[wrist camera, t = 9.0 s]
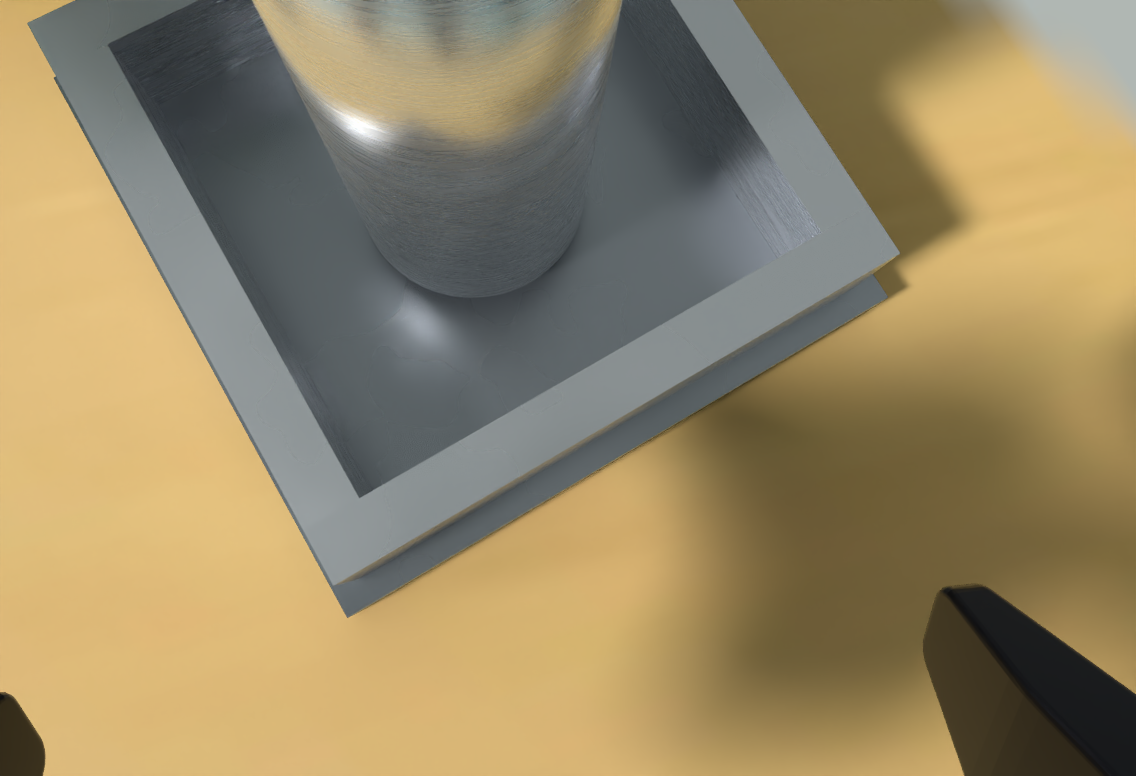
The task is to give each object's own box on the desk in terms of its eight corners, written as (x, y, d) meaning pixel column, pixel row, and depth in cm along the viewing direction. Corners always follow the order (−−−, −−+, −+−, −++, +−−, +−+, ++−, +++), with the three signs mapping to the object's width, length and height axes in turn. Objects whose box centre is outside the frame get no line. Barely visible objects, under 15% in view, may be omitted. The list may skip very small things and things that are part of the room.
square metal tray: (872, 307, 18) (939, 263, 15) (355, 614, 17) (320, 630, 14) (576, -148, 20) (585, -268, 17) (73, 97, 18) (-13, 12, 15)
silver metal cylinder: (606, 272, 17) (814, -370, 5) (383, 318, 17) (18, -257, 5) (557, 67, 18) (636, -946, 6) (341, 107, 18) (-77, -887, 5)
